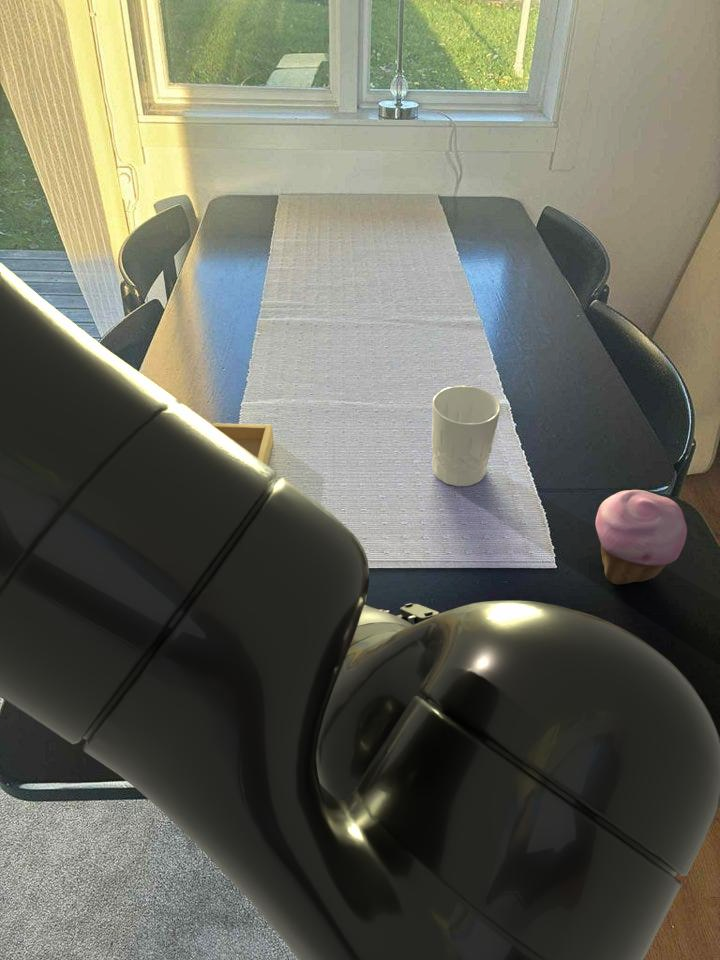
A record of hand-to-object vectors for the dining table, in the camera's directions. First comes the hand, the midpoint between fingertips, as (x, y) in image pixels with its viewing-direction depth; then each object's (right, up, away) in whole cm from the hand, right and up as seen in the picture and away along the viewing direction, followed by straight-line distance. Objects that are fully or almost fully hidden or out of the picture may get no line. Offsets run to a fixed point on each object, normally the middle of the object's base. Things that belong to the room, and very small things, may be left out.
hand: (303, 641), depth 48 cm
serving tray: (-16, +12, +40) cm, 45 cm away
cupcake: (+33, +1, +28) cm, 43 cm away
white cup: (+16, +12, +40) cm, 45 cm away
